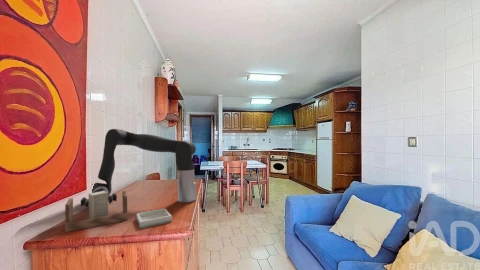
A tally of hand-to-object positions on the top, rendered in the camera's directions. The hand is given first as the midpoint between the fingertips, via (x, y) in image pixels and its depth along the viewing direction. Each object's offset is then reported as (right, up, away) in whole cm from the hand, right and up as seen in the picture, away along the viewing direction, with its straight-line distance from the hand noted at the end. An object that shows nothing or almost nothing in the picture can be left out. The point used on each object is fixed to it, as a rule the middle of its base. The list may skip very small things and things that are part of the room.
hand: (99, 203), depth 98 cm
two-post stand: (+3, -6, -4) cm, 8 cm away
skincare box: (+3, -7, -4) cm, 8 cm away
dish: (+27, -6, -5) cm, 28 cm away
